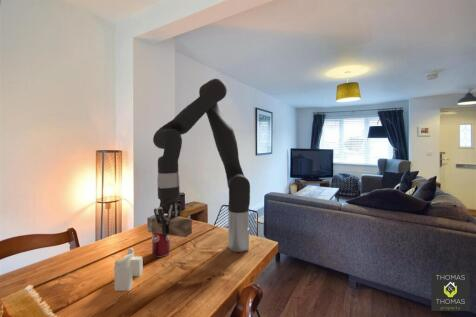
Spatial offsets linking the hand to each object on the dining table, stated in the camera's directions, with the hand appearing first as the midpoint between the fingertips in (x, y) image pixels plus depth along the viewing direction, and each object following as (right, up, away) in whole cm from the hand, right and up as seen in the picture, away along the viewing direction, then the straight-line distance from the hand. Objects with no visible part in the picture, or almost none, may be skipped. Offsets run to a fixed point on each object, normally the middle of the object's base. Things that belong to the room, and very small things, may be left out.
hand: (169, 231), depth 84 cm
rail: (0, 0, 0) cm, 0 cm away
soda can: (-8, -14, +15) cm, 22 cm away
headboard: (-12, -15, -5) cm, 20 cm away
